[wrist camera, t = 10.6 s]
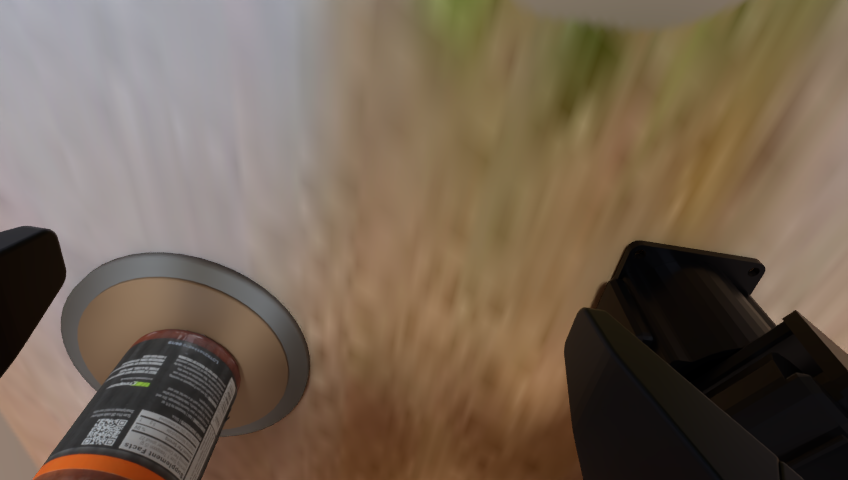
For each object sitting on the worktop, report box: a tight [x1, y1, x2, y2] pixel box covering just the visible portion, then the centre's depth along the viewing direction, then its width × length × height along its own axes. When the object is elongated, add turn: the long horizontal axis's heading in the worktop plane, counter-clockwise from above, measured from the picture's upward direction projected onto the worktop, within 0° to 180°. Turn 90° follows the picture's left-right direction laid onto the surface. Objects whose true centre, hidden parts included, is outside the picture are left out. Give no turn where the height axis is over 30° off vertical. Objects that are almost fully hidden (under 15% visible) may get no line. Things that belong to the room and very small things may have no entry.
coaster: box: [61, 253, 310, 437], centre depth 27 cm, size 13×13×1 cm
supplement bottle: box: [33, 329, 241, 480], centre depth 22 cm, size 6×6×11 cm
